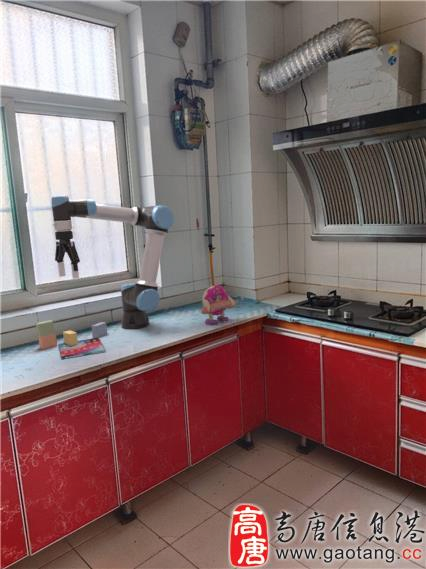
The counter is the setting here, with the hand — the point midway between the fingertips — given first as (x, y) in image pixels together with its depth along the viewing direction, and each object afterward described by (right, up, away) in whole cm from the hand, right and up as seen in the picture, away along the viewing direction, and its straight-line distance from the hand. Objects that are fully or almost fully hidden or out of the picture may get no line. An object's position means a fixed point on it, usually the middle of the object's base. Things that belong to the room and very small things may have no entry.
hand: (69, 277), depth 201 cm
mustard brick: (-2, -32, +9) cm, 33 cm away
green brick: (-13, -27, +6) cm, 30 cm away
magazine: (+5, -33, +2) cm, 34 cm away
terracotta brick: (-12, -33, +7) cm, 36 cm away
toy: (+69, -24, +33) cm, 80 cm away
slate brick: (+9, -29, +21) cm, 37 cm away
